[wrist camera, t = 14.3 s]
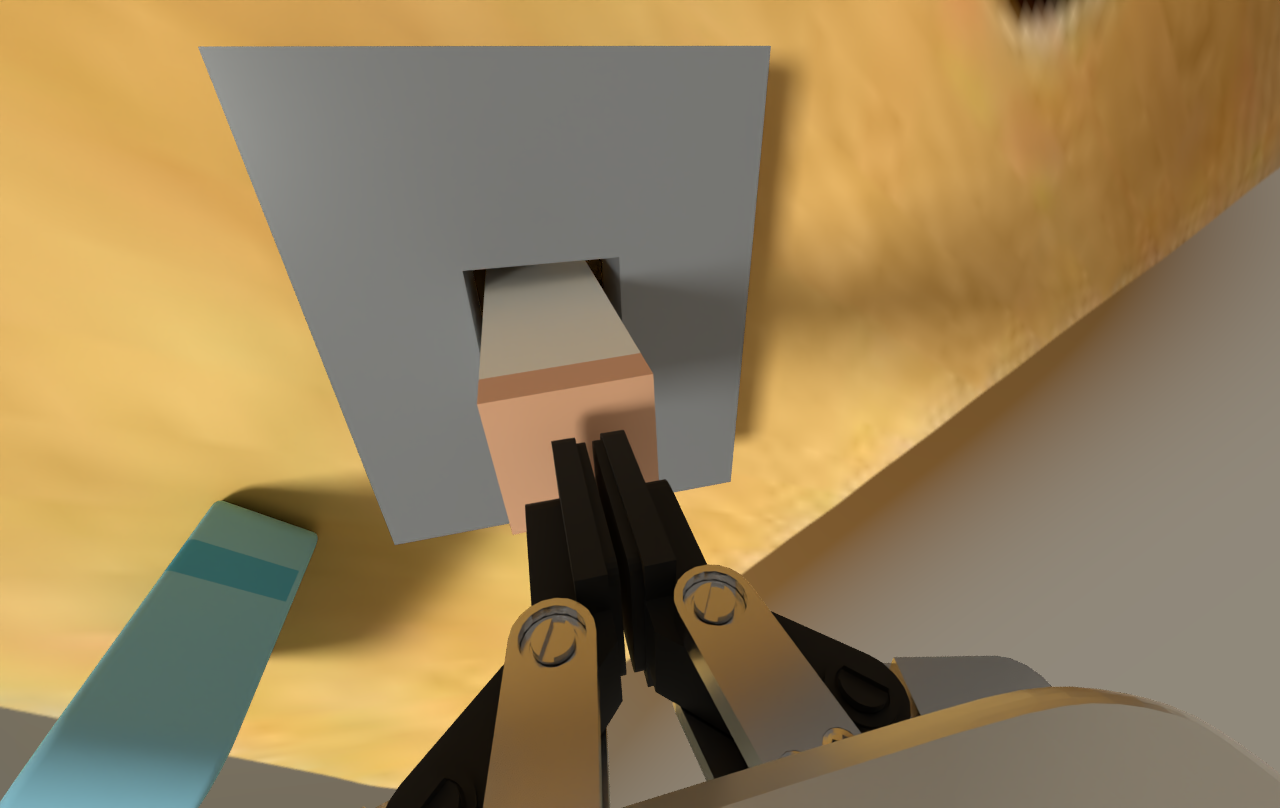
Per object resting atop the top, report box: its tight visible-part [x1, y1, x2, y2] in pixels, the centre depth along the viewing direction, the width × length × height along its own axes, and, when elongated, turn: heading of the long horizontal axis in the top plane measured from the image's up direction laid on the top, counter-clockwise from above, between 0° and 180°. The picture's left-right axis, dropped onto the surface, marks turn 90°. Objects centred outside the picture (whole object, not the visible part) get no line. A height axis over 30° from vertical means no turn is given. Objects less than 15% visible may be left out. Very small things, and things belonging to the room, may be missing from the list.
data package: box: [0, 501, 318, 808], centre depth 20 cm, size 12×4×12 cm, turn 137°
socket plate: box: [199, 46, 771, 545], centre depth 20 cm, size 18×16×4 cm
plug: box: [477, 260, 659, 535], centre depth 17 cm, size 4×4×12 cm
